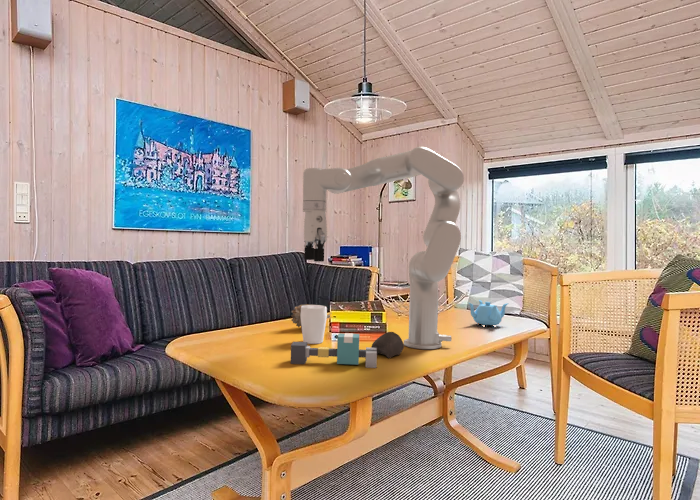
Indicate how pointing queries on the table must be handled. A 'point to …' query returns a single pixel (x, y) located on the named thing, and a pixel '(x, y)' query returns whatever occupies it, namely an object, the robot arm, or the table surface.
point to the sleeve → (348, 348)
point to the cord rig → (327, 353)
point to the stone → (388, 344)
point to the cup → (313, 323)
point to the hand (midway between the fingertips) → (313, 260)
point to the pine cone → (297, 313)
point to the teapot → (487, 313)
